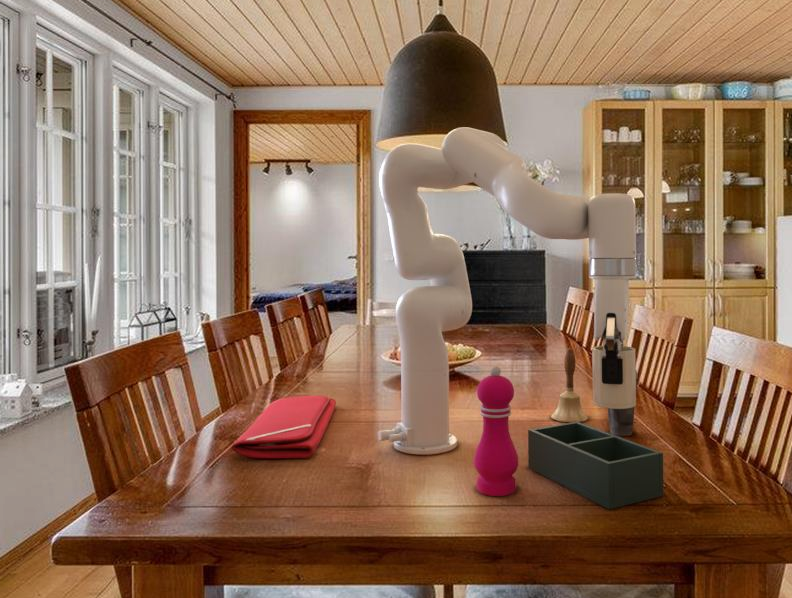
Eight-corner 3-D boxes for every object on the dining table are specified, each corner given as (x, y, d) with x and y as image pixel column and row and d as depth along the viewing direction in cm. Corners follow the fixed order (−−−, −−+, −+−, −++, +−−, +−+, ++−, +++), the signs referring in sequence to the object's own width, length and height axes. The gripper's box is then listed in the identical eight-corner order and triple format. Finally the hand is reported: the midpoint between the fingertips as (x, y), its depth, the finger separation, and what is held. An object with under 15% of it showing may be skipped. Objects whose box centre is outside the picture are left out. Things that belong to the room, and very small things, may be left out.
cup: (612, 410, 103) (611, 353, 103) (584, 402, 109) (583, 347, 109) (645, 405, 106) (644, 349, 106) (616, 397, 112) (615, 344, 112)
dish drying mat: (337, 406, 164) (337, 391, 164) (315, 458, 123) (315, 438, 123) (273, 408, 163) (273, 393, 163) (229, 461, 122) (229, 441, 122)
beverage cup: (640, 438, 135) (639, 340, 135) (603, 436, 136) (602, 340, 136) (637, 429, 142) (636, 336, 142) (603, 427, 143) (602, 335, 144)
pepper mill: (505, 501, 102) (504, 371, 102) (465, 492, 106) (464, 367, 106) (526, 486, 108) (525, 364, 108) (487, 478, 112) (486, 360, 112)
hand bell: (593, 416, 153) (592, 347, 153) (579, 424, 146) (579, 352, 146) (560, 411, 157) (559, 344, 157) (545, 419, 150) (544, 349, 150)
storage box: (609, 509, 99) (608, 463, 99) (528, 467, 117) (528, 429, 118) (663, 496, 104) (663, 452, 104) (577, 458, 123) (577, 421, 123)
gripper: (593, 268, 117) (595, 368, 117) (583, 271, 100) (585, 389, 100) (637, 268, 115) (639, 370, 114) (634, 271, 98) (636, 391, 98)
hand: (613, 378), depth 107 cm, fingers closed on cup, 6 cm apart
